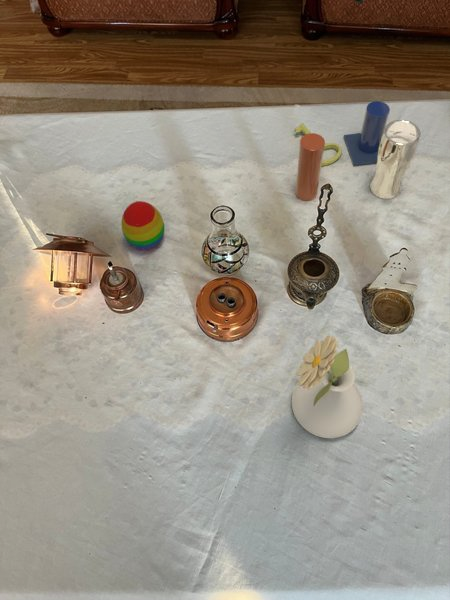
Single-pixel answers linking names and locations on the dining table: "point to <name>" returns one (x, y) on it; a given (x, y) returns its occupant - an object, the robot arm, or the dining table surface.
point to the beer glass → (394, 157)
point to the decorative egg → (142, 225)
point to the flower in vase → (327, 392)
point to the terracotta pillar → (309, 166)
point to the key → (326, 146)
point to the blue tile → (358, 151)
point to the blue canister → (373, 126)
